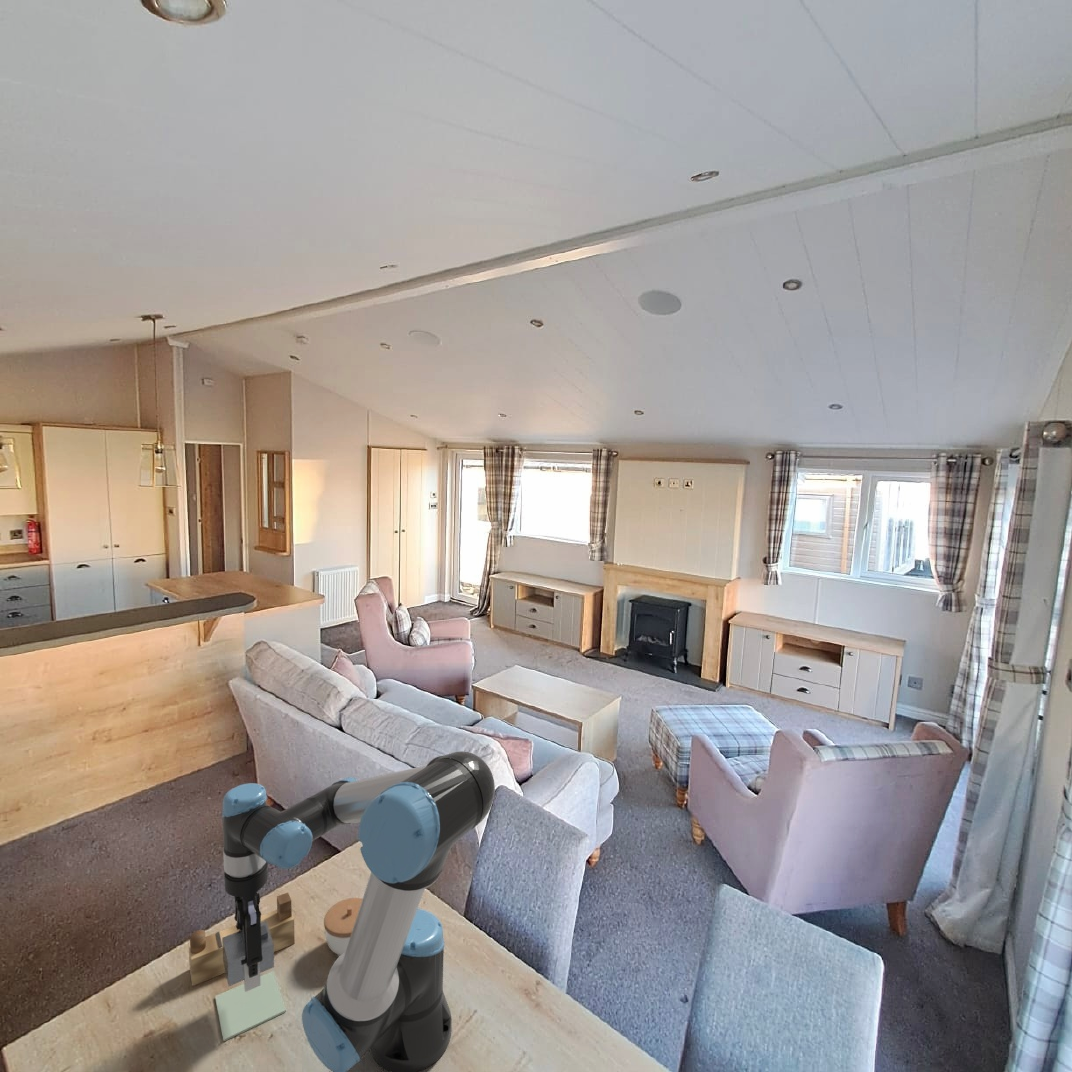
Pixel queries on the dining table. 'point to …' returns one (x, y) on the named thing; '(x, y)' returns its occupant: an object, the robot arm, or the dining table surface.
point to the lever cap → (236, 953)
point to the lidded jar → (341, 924)
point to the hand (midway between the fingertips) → (248, 972)
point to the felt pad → (249, 1006)
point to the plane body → (210, 949)
